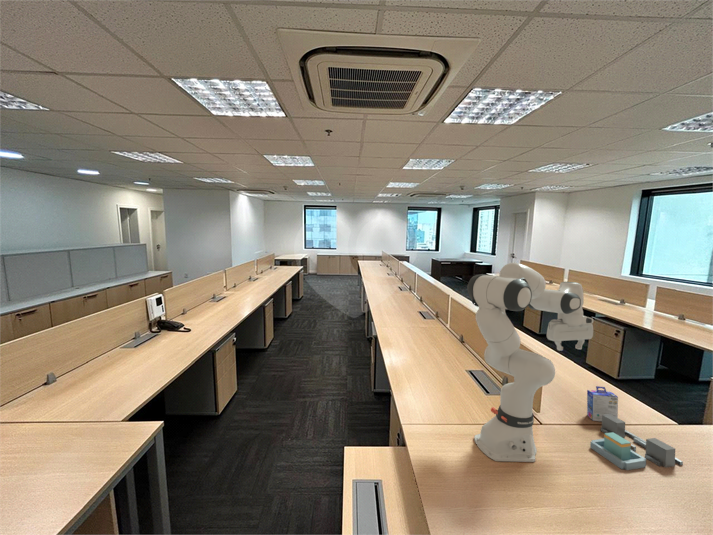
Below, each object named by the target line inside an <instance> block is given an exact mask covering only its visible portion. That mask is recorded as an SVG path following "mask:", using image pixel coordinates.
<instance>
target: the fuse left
mask: <svg viewBox="0 0 713 535" xmlns="http://www.w3.org/2000/svg"><path fill="white" fill-rule="evenodd" d="M601 427H603V428H605V429H607V430H608V431H610V432H614V433H615V434H617V435H619V436H620V437H622V438H624V439H625V437H626V436H625V430H626V421H624V420H622V419H620V418H619V417H618V418H616V417H615V416H613V415H611V414H606V415H602V421H601Z"/></svg>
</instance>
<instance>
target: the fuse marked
mask: <svg viewBox="0 0 713 535" xmlns="http://www.w3.org/2000/svg"><path fill="white" fill-rule="evenodd" d="M603 439H604V449H606V450H607V451H609V452H610V453H612V454H613V455H615V456H616V457H618V458H619V459H621V460H622V461H626V460H630V452H631V444H632V443H631V442H630V441H629V440H627V439H625V437H624V438H622V437H620V436H619V435H617V434H615V433H614V432H612V433H603Z"/></svg>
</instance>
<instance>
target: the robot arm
mask: <svg viewBox="0 0 713 535" xmlns="http://www.w3.org/2000/svg"><path fill="white" fill-rule="evenodd" d="M546 284H547V283H546V279H545V278H544V276H543V275H542V274H541V273H539V272H538V271H536V270H535V269H533V268H532V267H529V266H528V265H525V264H523V263H519V262H509V263H507V264H505V265H503V267H502V268H501V269H500V271H499V274H498V275H487V274H483V273H482V274H476V275H473V276H472V277H471V278H470V279H469V281H468V283H467V293H468V296H469V298H470V299H471V304H473V305H474V306H475V307H477V308H478V309H477V310H476V312H475V322H476V325H477V327H478V329H479V332H480V334H481V335H482V337H483V339H484V340H485V341H486V344H487V346H486V347H485V349H484V354H483V357H484V361H485V363H486V364H488V365H489V366H490V367H492V368H494V369H495V370H496V371H498V372H501V373H505V374H507V375H508V376H509V375H510V376H512V377H514V378H513V380H514V381H513V382H509V383H505V384H504V385H503V386H502V387H501V389H500V398H499V399H500V401H499V402H500V403H499V406H498V409H496V407H495V406H492V407H491V408H490V411H491V413H493V414H494V415H495V416H494V417H492V418H491V419H489V420H488V421H487V422H486V423H484V424H483V425H482V426H481V429H480V433H478V434H475V435H473V436H474V437H473V438H474V439H473V440H474V443H475V444H477V445H476V446H477V447H478V449H479V450H480V451H481V452H482V453H484V455H485V456H487V457H488V458H489V459H491V460H493V461H495V462H517V463H518V462H521V463H522V462H526V463H535V462H536V455H537V447H536V442H535V439H534V438H535V437H534V430H533V426H534V422H535V420H534V413H533V404H534V396H535V394H536V392H537V391H538V390H539V389H540V388H541V387H543V386H547V385H549V384H550V383H552V382H553V381H554V379H555V376H556V368H555V364H554V363H553V362H552V360H551V359H549V358H547V357H546V356H543V355H542V354H539V353H537V352H532V351H529V350H525V349H522V348H520V347H521V337H520V335H519V333H518V331H517V329H516V328H515V326H514V324H513V323H512V321H511V319H510V318H509V317H508V315H507V313H506V310H508V311H513V312H521V311H523V310H525V309H527V308H529V309H530V310H532V311H543V312H549V313H556V314H557V319H551V320H550V321H549V322H548V326H547V329H546V338H547V340H548V341H552V342H554V344H555V345H556V350H557V351H559V352H560V351H561V352H562V351H564V346H562V342H564V341H565V342H566V341H577V343H576V344H575V349H577V350H582V349H583V345H584V344H585V342H586V341H585V340H592V338H594V325H593V324H594V319H593V318H592V317H589V316H586V315H584V310H583V307H584V301H585V300H584V296H585V295H584V289H583V285H582V284H581V283H579V282H576V281H575V282H574V281H561V282H560V283H559V287H558V289H548V288H547V289H546V287H547V285H546Z"/></svg>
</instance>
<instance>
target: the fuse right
mask: <svg viewBox="0 0 713 535" xmlns="http://www.w3.org/2000/svg"><path fill="white" fill-rule="evenodd" d="M645 441H646V449H645V454H646V453H647V454H649V455H651V456H653V457H654V458H656V459H658V460H659V461H661V462H662V466H661V467H664V468H665V469H666V468H672V467H673V468H674V467H675V465H676V463H675V458H676V448H675V447H673V446H671V445H669V444H667V443H665V442H663V441H662V440H660V439H658V438H656V437H652V438H651V437H650V438H645Z"/></svg>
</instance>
